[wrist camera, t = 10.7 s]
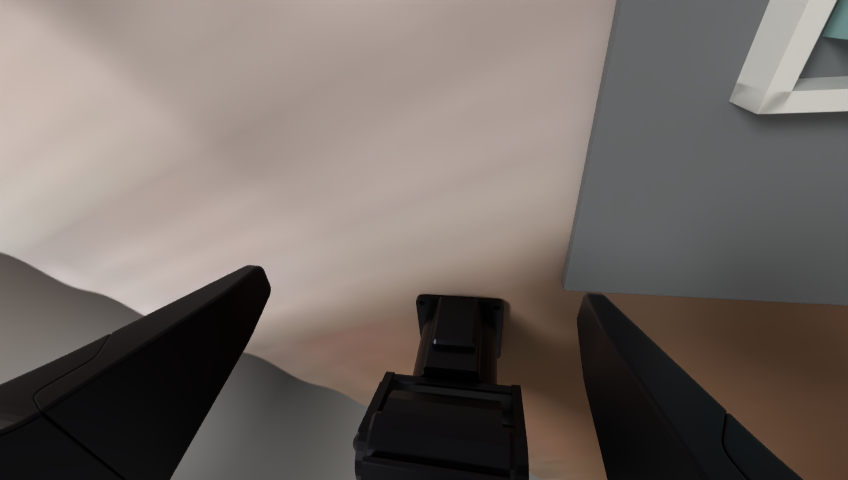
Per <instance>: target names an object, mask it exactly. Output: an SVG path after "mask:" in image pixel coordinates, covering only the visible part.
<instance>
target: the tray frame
mask: <svg viewBox="0 0 848 480" xmlns="http://www.w3.org/2000/svg"><path fill="white" fill-rule="evenodd" d="M836 1H837V0H770V1H769V3H768V6H767V8H766V11H765V13H764V16H763V18H762V21H761V23H760V26H759V28H758V31H757V33H756V36H755V38H754V41H753V43H752V45H751V48H750V50H749V53H748V55H747V58H746V60H745V63H744V65H743V68H742V70H741V73H740V75H739V78H738V80H737V82H736V85H735V87H734V90H733V92H732V95H731V97H730V100H729V102H731V103H733V104H736V105H738V106H740V107H742V108H744V109H746V110H749V111H751V112H753V113H755V114H777V113H807V112H837V111H848V76H841V77H821V78H801V79H798V77H799V75H800V73H801V71H802V69H803V67H804V65H805V63H806V61H807V59H808V57H809V55H810V53H811V51H812V49H813V47H814V45H815V43H816V41H817V39H818V37H819V35H820V33H821V31H822V29H823V27H824V25H825V23H826V21H827V19H828V17H829V15H830V13H831V11H832V9H833V7H834V5H835V3H836Z"/></svg>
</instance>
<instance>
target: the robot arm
mask: <svg viewBox="0 0 848 480" xmlns="http://www.w3.org/2000/svg"><path fill="white" fill-rule="evenodd" d="M270 292H271V287H270V284H269V281H268V279H267V276H266V274H265V271H264V269H263V268H262V267H261V266H254V265H247V266H245V267H243V268H241V269H239V270H237V271H235V272H233V273H231V274H228V275H226V276H224V277H222V278H220V279H218V280H216V281H214V282H212V283H210V284H208V285H206V286H204V287H202V288H200V289H198V290H196V291H194V292H192V293H190V294H188V295H186V296H184V297H182V298H180V299H178V300H176V301H174V302H172V303H170V304H168V305H166V306H164V307H162V308H160V309H158V310H156V311H154V312H152V313H150V314H148V315H146V316H144V317H142V318H140V319H138V320H136V321H134V322H132V323H130V324H128V325H127V326H124V327H122V328H120V329H118V330H116V331H114V332H113V333H112V334H108V335H106V336H104V337H102V338H100V339H98V340H96V341H94V342H92V343H90V344H88V345H86V346H83V347H81V348H79V349H77V350H75V351H73V352H71V353H69V354H67V355H65V356H63V357H60V358H58V359H56V360H54V361H52V362H50V363H47V364H45V365H43V366H41V367H39V368H36V369H34V370H32V371H30V372H27V373H25V374H23V375H21V376H18V377H16V378H14V379H12V380H10V381H7V382H5V383H3V384H0V480H170V479H171V476H172V475H173V473H174V472H175V470H176V468H177V466H178V464H179V463H180V461H181V459H182V458H183V456H184V454H185V452H186V451H187V449H188V447H189V445H190V443H191V442H192V440H193V438H194V437H195V435H196V433H197V431H198V430H199V428H200V426H201V424H202V423H203V421H204V419H205V417H206V416H207V414H208V412H209V410H210V409H211V407H212V405H213V403H214V402H215V400H216V398H217V396H218V395H219V393H220V391H221V389H222V388H223V386H224V384H225V382H226V381H227V379H228V377H229V375H230V374H231V372H232V370H233V368H234V367H235V365H236V363H237V361H238V360H239V358H240V356H241V354H242V353H243V351H244V349H245V347H246V346H247V344H248V342H249V340H250V338H251V336H252V334H253V332H254V330H255V327H256V325H257V323H258V321H259V318H260V316H261V314H262V312H263V309H264V307H265V305H266V303H267V300H268V298H269V296H270ZM423 301H425V302H423ZM495 305H498V306H495ZM416 306H417V313H418V321H419V328H420V335H421V340H420V345H419V349H418V354H417V359H416V363H415V368H414V372H413V376H411V375H402V374H395V372H386V373H385V375H384V378H383V380H382V382H380V384H379V386H378V388H377V390H376V392H375V394H374V397H373V399H372V401H371V403H370V405H369V407H368V410H367V412H366V414H365V416H364V418H363V420H362V422H361V424H360V426H359V429H358V433H357V434H356V436H355V438H354V441H353V448H354V450H355V452H356V456H355V475H356V479H357V480H529V463H528V446H527V436H526V428H525V420H524V411H523V403H522V395H521V387H520V385H511V386H506V385H497V358H499V357H500V355H501V341H502V326H503V312H504V303H503V301H502V300H500V299H490V298H473V297H456V296H440V295H419V296H418V297H417V300H416ZM577 327H578V335H579V344H580V353H581V361H582V370H583V377H584V383H585V388H586V392H587V396H588V400H589V404H590V409H591V413H592V417H593V421H594V425H595V429H596V433H597V437H598V442H599V446H600V450H601V454H602V458H603V462H604V466H605V471H606V475H607V479H608V480H803V479H802V478H801V477H800V476H798V475H797V474H796V473H795V472H794V471H793V470H791V469H790V468H789V467H788V466H787V465H786V464H784V463H783V462H782V461H781V460H780V459H779V458H777V457H776V456H775V455H774V454H773V453H772V452H771V451H770V450H769V449H768V448H766V447H765V446H764V445H763V444H762V443H761V442H760V441H759V440H758V439H757V438H755V437H754V436H753V435H752V434H751V433H750V432H749V431H748V430H747V429H746V428H745V427H744V426H742V425H741V424H740V423H739V422H738V421H737V420H736V419H735V418H734V417H733V416H732V415H731V414H729V413H727V414H726V410H725V409H724V408H723V407H722V406H721V405H720V404H719V403H718V402H717V401H716V400H715V399H714V398H713V397H711V396H710V395H709V394H708V393H707V392H706V391H705V390H704V389H703V388H702V387H701V386H700V385H699V384H698V383H697V382H696V381H695V380H693V379H692V378H691V377H690V376H689V375H688V374H687V373H686V372H685V371H684V370H683V369H682V368H681V367H680V366H679V365H678V364H676V363H675V362H674V361H673V360H672V359H671V358H670V357H669V356H668V355H667V354H666V353H665V352H664V351H663V350H662V349H661V348H660V347H658V346H657V345H656V344H655V343H654V342H653V341H652V340H651V339H650V338H649V337H648V336H647V335H646V334H645V333H644V332H643V331H641V330H640V329H639V328H638V327H637V326H636V325H635V324H634V323H633V322H632V321H631V320H630V319H629V318H628V317H627V316H626V315H625V314H623V313H622V312H621V311H620V310H619V309H618V308H617V307H616V306H615V305H614V304H613V303H612V302H611V301H610V300H609V299H608V298H606V297H605V296H604V295H602V294H594V293H586V294H585V295H584V297H583V300H582V303H581V306H580V310H579V313H578V317H577Z"/></svg>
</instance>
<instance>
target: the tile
mask: <svg viewBox="0 0 848 480" xmlns="http://www.w3.org/2000/svg"><path fill="white" fill-rule="evenodd" d="M822 36H823V37H831V38H838V39H846V40H848V0H840V1H839V3H838V5H837V7H836V9H835V11H834V13H833V15H832V17H831V19H830V21H829V23H828V25H827V27H826V29H825V31H824V33H823V35H822Z"/></svg>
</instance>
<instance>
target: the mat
mask: <svg viewBox="0 0 848 480" xmlns="http://www.w3.org/2000/svg"><path fill="white" fill-rule="evenodd" d="M769 1H770V0H617V2H616V7H615V12H614V18H613V23H612V28H611V33H610V38H609V43H608V48H607V53H606V58H605V64H604V69H603V74H602V79H601V84H600V89H599V94H598V99H597V104H596V110H595V115H594V120H593V125H592V130H591V135H590V140H589V145H588V151H587V156H586V161H585V166H584V171H583V176H582V181H581V186H580V191H579V197H578V202H577V207H576V212H575V217H574V222H573V227H572V232H571V237H570V243H569V248H568V253H567V258H566V263H565V268H564V273H563V278H562V285H563V290H567V291H586V292H604V293H623V294H642V295H660V296H679V297H698V298H716V299H735V300H754V301H772V302H791V303H810V304H828V305H847V306H848V111H837V112H807V113H777V114H755V113H753V112H751V111H749V110H746V109H744V108H742V107H740V106H738V105H736V104H733V103H731V102H729V100H730V97H731V95H732V92H733V90H734V87H735V85H736V82H737V80H738V78H739V75H740V73H741V70H742V68H743V65H744V63H745V60H746V58H747V55H748V53H749V50H750V48H751V45H752V43H753V41H754V38H755V36H756V33H757V31H758V28H759V26H760V23H761V21H762V18H763V16H764V13H765V11H766V8H767V6H768V3H769ZM839 1H840V0H837V1H836V3H835V5H834V7H833V9H832V11H831V13H830V15H829V17H828V19H827V21H826V23H825V25H824V27H823V29H822V31H821V33H820V35H819V37H818V39H817V41H816V43H815V45H814V47H813V49H812V51H811V53H810V55H809V57H808V59H807V61H806V63H805V65H804V67H803V69H802V71H801V73H800V75H799V77H798V79H801V78H821V77H841V76H848V40H846V39H838V38H831V37H823V36H822V35H823V33H824V31H825V29H826V27H827V25H828V23H829V21H830V19H831V17H832V15H833V13H834V11H835V9H836V7H837V5H838V3H839Z"/></svg>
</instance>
